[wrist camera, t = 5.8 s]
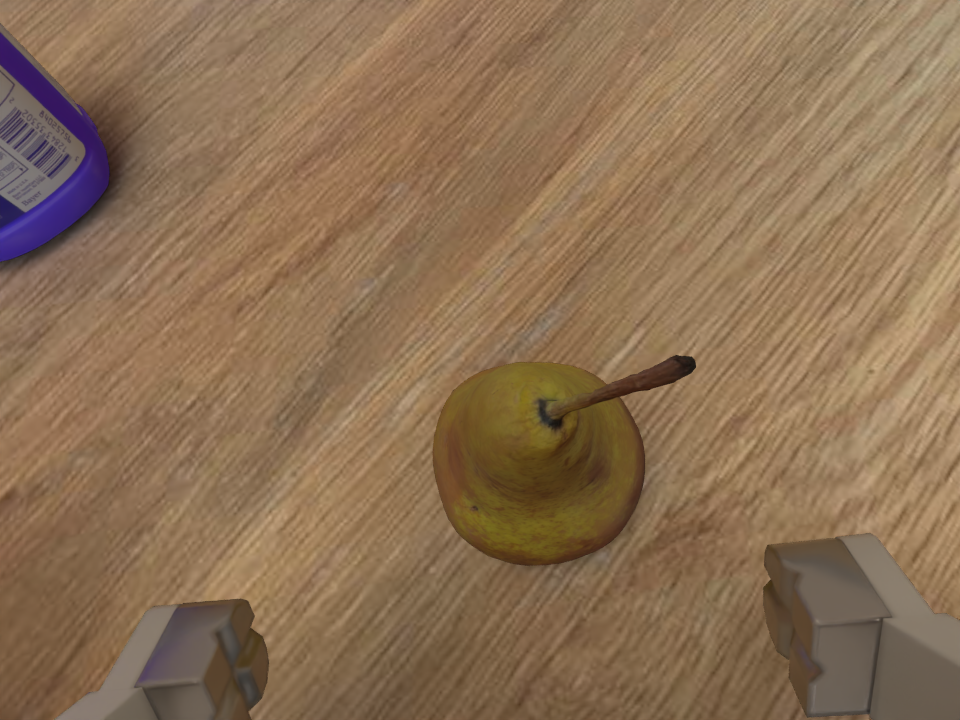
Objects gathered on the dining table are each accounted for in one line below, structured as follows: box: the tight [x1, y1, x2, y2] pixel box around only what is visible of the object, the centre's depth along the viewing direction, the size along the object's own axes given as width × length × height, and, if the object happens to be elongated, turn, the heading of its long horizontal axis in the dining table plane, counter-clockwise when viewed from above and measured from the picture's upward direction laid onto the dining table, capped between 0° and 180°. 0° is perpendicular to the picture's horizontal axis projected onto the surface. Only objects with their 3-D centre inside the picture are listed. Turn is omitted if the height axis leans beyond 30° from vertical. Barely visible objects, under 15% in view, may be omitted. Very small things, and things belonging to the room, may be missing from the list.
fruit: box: [433, 355, 696, 566], centre depth 16 cm, size 6×6×12 cm
